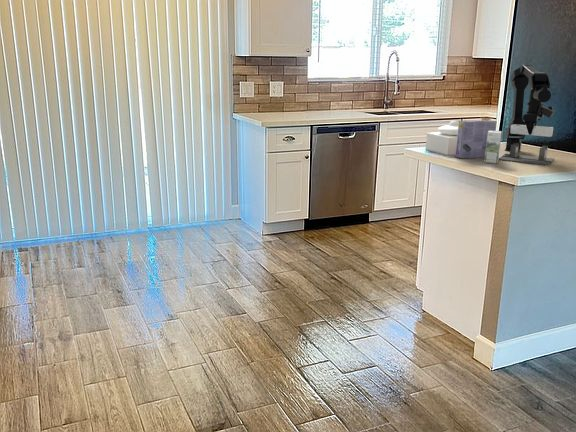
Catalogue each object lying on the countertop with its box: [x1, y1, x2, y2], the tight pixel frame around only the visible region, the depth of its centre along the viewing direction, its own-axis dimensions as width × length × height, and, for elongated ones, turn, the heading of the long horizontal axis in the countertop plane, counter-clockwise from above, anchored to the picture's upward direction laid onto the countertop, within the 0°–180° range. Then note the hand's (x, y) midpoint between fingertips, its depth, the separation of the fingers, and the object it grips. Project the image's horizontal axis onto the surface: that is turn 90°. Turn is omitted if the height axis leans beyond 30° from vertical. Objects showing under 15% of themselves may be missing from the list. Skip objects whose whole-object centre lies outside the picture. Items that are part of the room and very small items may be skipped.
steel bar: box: [510, 124, 554, 138], centre depth 261 cm, size 18×4×4 cm, turn 57°
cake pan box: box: [454, 120, 498, 159], centre depth 265 cm, size 19×5×18 cm, turn 106°
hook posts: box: [501, 143, 555, 163], centre depth 264 cm, size 22×8×6 cm, turn 57°
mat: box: [498, 156, 552, 166], centre depth 258 cm, size 22×7×1 cm, turn 57°
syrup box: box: [483, 130, 503, 165], centre depth 253 cm, size 6×6×14 cm
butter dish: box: [425, 119, 459, 156], centre depth 281 cm, size 18×18×16 cm
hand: (530, 134), depth 262 cm, fingers closed on steel bar, 4 cm apart
